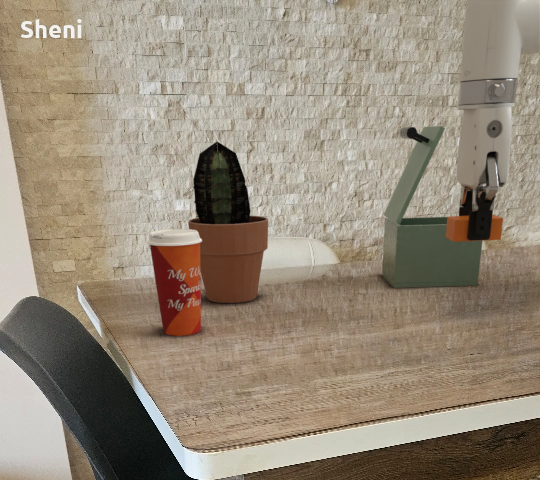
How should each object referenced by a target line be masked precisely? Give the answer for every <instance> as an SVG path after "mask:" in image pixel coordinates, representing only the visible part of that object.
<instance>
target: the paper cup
mask: <svg viewBox="0 0 540 480" xmlns="http://www.w3.org/2000/svg"><path fill="white" fill-rule="evenodd" d="M200 242H202V239H201V238H200V237H199V233H198V231H197V230H191V229H189V228H169V229H159V230H154V231H150V233H149V239H148V240H147V242H146V243H147V245H149V248H150V255H151V261H152V267H153V274H154V275H153V276H154V281H155V287H156V293H157V300H158V306H159V313H160V319H161V325H162V329H163V333H164V334H165V335H169V336H176V337H177V336H179V337H181V336H191V335H195V334H198V333H199V332H200V331H201V329H202V287H201V286H202V285H201V284H202V283H201V282H202V281H201V280H202V276H201V272H200Z"/></svg>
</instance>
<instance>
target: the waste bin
mask: <svg viewBox="0 0 540 480" xmlns="http://www.w3.org/2000/svg"><path fill="white" fill-rule="evenodd" d="M447 217H448V216H421V217H420V216H419V217H417V216H416V217H403V218H402V220H401V223H400V224H398V223H396V222H394V221H392V220H391V219H389V218H388V217H385V218H384V231H383V248H382V268H381V276H382V277H383V278H384V279H385V280H386V281H387V282H388V284H389V285H390V286H392V288H393V289H402V288H403V289H404V288H437V287H443V288H444V287H473V286H475V287H476V286H478V282H479V275H480V266H481V258H482V257H481V256H482V248H483V241H461V242H453V241H451V240H450V239H448V238H446V228H447Z"/></svg>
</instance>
